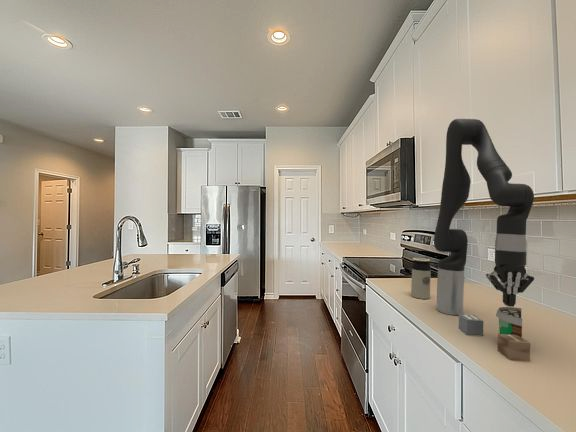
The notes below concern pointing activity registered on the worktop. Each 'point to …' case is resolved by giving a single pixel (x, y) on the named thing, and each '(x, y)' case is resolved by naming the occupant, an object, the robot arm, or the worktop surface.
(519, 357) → the walnut block
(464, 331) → the slate block
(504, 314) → the food container
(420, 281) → the travel mug
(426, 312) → the worktop surface
